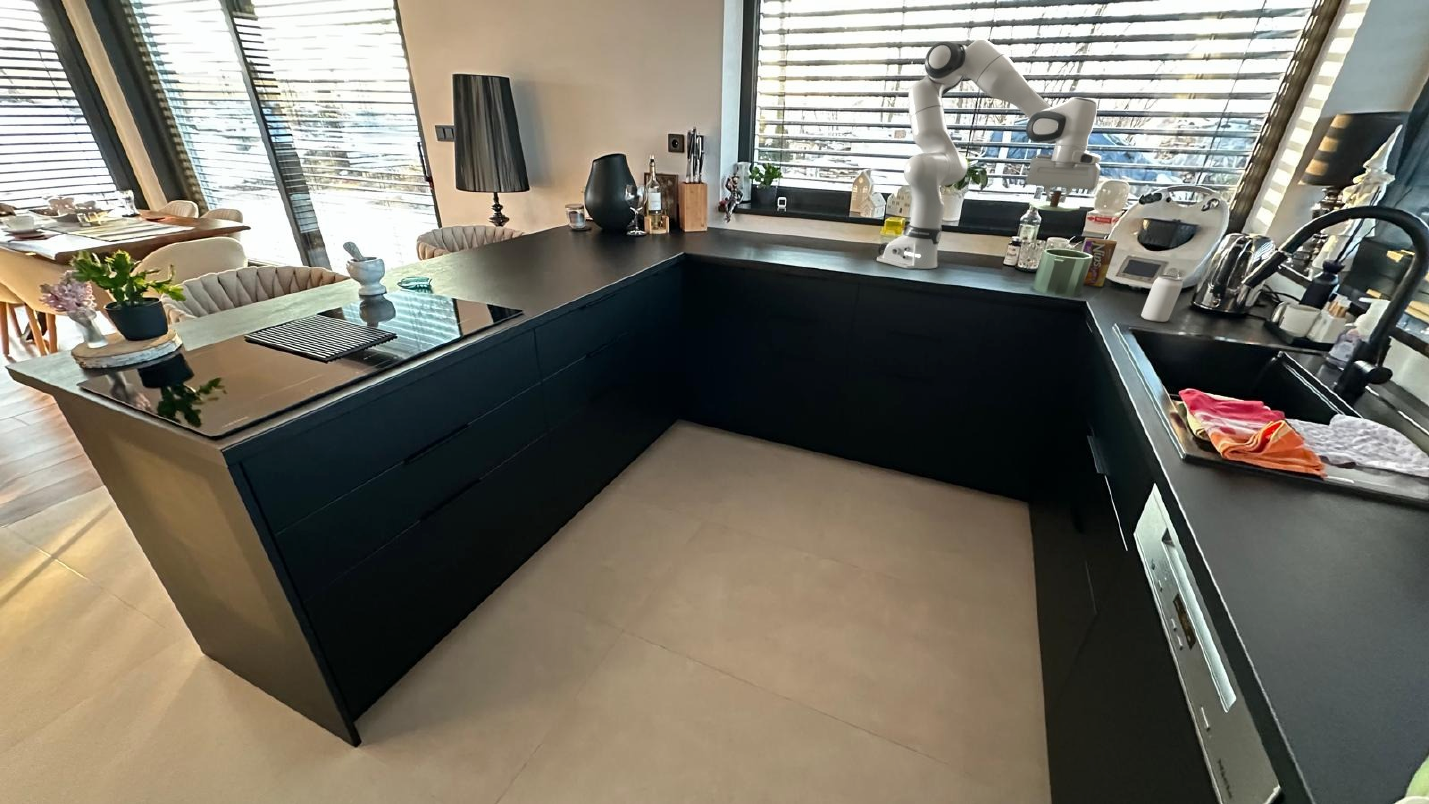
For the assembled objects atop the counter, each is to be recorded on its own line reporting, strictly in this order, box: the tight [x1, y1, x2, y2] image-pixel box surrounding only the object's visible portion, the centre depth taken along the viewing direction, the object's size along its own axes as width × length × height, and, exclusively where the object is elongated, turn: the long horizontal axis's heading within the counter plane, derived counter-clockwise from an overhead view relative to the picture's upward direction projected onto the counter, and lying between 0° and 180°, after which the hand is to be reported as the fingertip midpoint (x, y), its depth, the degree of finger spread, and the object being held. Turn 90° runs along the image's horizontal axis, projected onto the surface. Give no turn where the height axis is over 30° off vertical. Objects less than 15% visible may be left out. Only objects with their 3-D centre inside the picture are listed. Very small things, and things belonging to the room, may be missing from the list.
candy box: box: [1080, 237, 1118, 287], centre depth 187 cm, size 9×4×15 cm, turn 65°
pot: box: [1032, 248, 1093, 298], centre depth 179 cm, size 14×19×12 cm
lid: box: [1028, 189, 1080, 212], centre depth 181 cm, size 15×15×6 cm
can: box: [1140, 274, 1184, 323], centre depth 156 cm, size 6×6×12 cm
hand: (1054, 201), depth 181 cm, fingers closed on lid, 2 cm apart
